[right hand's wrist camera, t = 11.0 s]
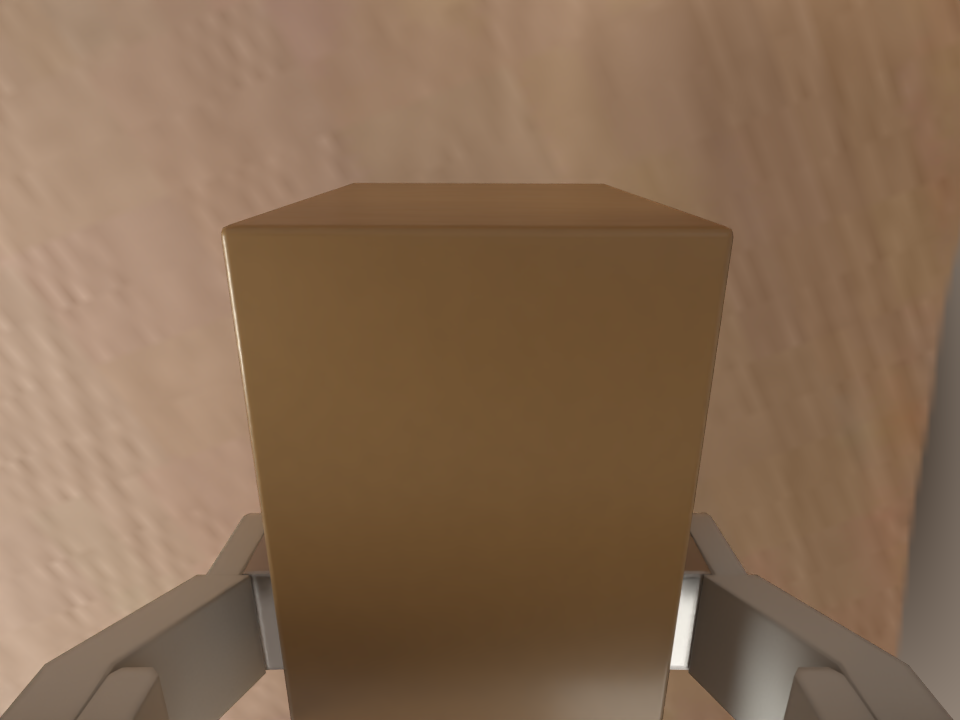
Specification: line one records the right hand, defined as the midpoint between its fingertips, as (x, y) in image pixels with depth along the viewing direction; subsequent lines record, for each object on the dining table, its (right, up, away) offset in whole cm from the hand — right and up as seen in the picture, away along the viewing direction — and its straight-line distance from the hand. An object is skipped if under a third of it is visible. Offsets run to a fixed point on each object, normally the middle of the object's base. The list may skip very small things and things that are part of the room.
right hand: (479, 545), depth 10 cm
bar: (0, -27, +13) cm, 29 cm away
